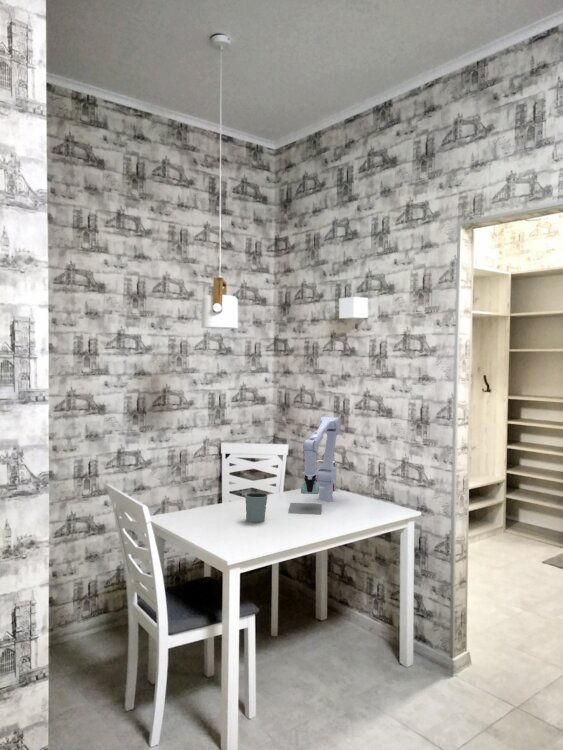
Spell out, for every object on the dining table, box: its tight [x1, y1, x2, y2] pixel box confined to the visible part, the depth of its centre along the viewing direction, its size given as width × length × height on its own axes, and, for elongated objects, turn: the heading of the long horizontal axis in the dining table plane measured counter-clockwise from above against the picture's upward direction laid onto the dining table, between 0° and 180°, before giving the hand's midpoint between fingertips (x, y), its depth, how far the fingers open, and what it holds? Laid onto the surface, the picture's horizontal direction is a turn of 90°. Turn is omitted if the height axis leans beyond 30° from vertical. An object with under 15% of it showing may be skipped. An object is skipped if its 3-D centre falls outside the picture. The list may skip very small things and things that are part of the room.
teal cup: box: [245, 491, 268, 524], centre depth 266 cm, size 10×10×12 cm
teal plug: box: [300, 481, 324, 495], centre depth 288 cm, size 11×4×5 cm, turn 86°
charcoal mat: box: [287, 502, 323, 516], centre depth 287 cm, size 20×16×1 cm
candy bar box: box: [315, 459, 337, 492], centre depth 330 cm, size 11×5×16 cm, turn 72°
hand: (309, 490), depth 288 cm, fingers closed on teal plug, 4 cm apart
